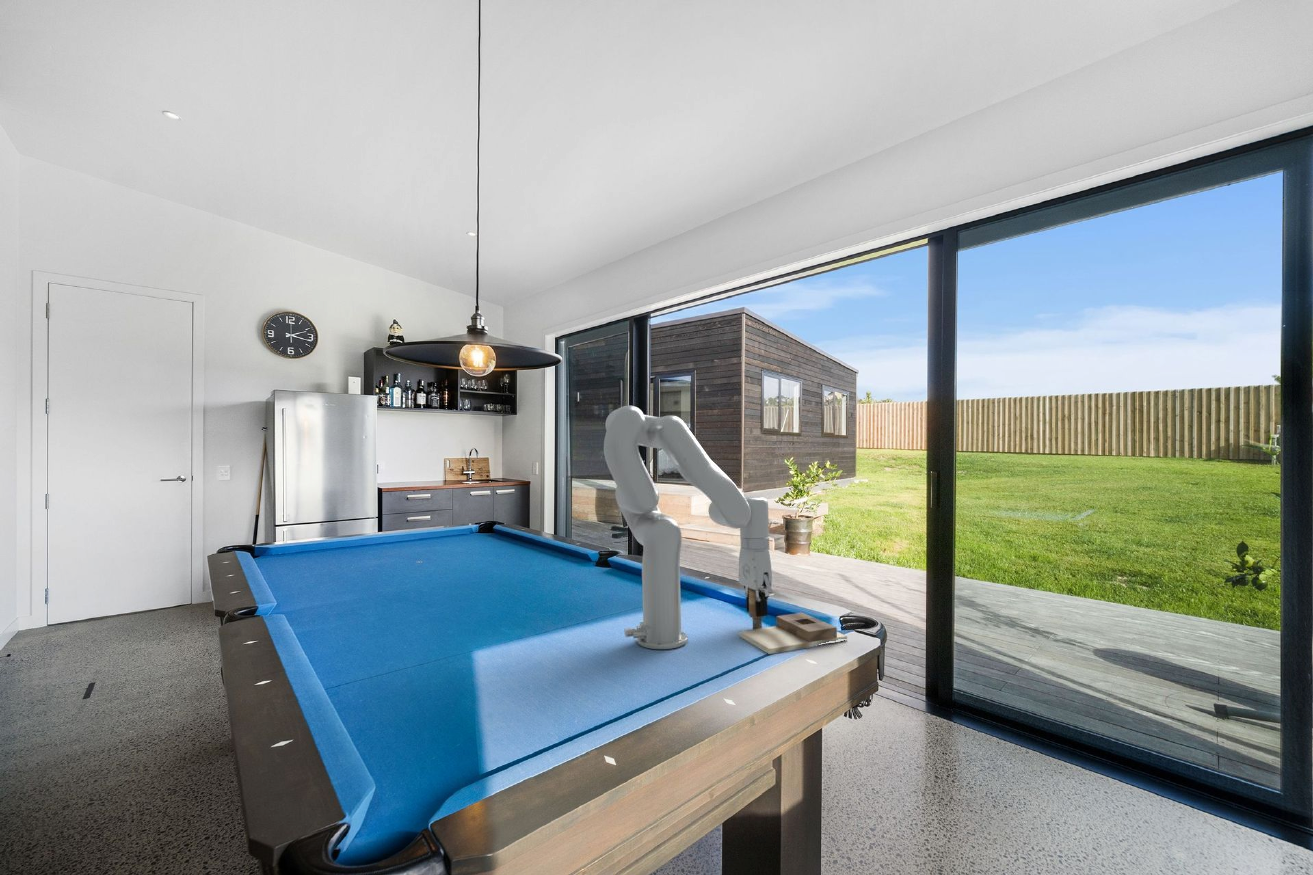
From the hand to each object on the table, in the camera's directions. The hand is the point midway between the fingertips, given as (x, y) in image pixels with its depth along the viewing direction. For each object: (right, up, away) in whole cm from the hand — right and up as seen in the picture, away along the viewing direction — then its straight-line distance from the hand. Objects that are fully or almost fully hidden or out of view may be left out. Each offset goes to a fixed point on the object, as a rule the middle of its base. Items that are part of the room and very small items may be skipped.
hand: (756, 612), depth 146 cm
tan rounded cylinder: (0, -4, 0) cm, 4 cm away
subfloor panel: (+7, -4, -8) cm, 12 cm away
